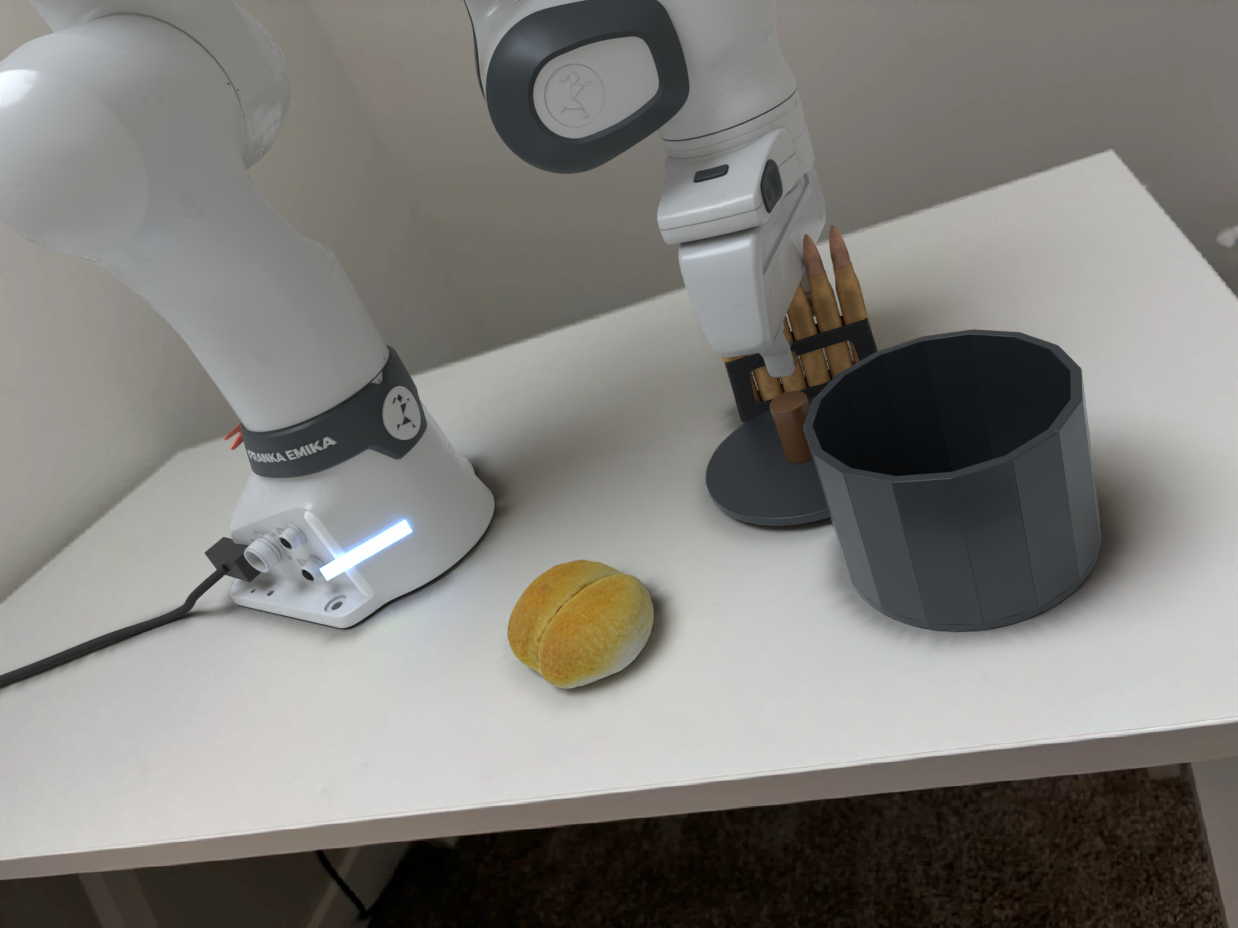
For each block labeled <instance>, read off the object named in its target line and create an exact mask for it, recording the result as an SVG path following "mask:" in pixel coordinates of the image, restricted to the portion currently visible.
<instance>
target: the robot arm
mask: <svg viewBox="0 0 1238 928" xmlns="http://www.w3.org/2000/svg"><path fill="white" fill-rule="evenodd" d="M27 1H28V2H29V3H30V5H31V6H32V7H33V8H34V10H35V11H36V12H37V13H38V15H40V17H41V19H43V21H44V22H45V23H46V25H47V26H48V27H49V29H50V30H51V32H52V33H49V34H45V35H42V36H39V37H36V38H33V39H30V40H29V41H27V42H25V43H23V44H21V45H20V46H19V47H18V48H16V49H14V50H13V51H11V53H10V54H8V56H6V57H4V58H3V60H1V61H0V221H1V222H2V223H3V224H4V225H6V226H7V227H8V228H9V229H10V230H12V231H13V232H15V233H16V234H18V236H20V237H21V238H24V239H25V240H27V241H29V242H31V243H32V244H34V245H36V246H37V247H38V246H39V247H40V248H43V249H46V250H48V251H50V252H53V253H58V254H61V255H66V256H69V257H74V258H77V259H79V260H83V261H86V262H87V263H91V264H92V265H94V266H96V267H98V268H100V269H101V270H103V271H105V272H107V273H108V274H109V275H111V276H112V277H114V278H115V279H117V280H118V281H119V282H121V283H122V284H123V285H125V286H126V287H127V288H128V289H129V290H131V291H132V292H133V293H134V294H136V295H137V296H138V297H140V298H141V299H142V300H143V301H144V302H145V303H147V304H148V305H149V306H150V307H151V308H152V309H153V310H155V311H156V312H157V313H158V314H159V315H160V316H161V317H162V318H163V319H164V320H165V321H166V322H167V323H168V325H170V326H171V327H172V328H173V329H174V331H175V332H176V333H177V334H178V335H179V337H180V338H182V340H183V341H184V342H185V344H186V345H187V346H188V347H189V349H190V350H191V352H192V353H193V355H194V356H195V357H196V359H197V360H198V361H199V363H200V364H201V367H203V369H204V370H205V372H206V373H207V375H209V377H210V379H211V380H212V382H214V384H215V386H216V387H217V388H218V390H219V391H220V393H221V394H222V396H223V398H224V399H225V401H226V402H227V403H228V404H229V406H230V407H231V409H232V410H233V412H234V413H235V415H236V416H237V417H238V419H239V420H240V423H238V424H237V425H236V426H235V427H233V429H232V430H231V431H230V432H229V433H227V434H226V435H225V436H224V438H223V440H224V441H228V440H230V439H231V438H232V437H233V436H235V435H236V434H237V433H238V435H237V436H236V438H234V441H233V442H232V444H231V445H230V447H229V450H231V451H234V450H236V449H237V448H238V447H239V446H240V445H241V444H243V445H244V448H245V452H246V455H247V458H248V462H249V465H250V468H251V473H250V475H249V477H248V479H247V482H246V484H245V485H244V488H243V491H242V492H241V494H240V497H239V499H238V502H237V503H236V505H235V507H234V509H233V511H232V514H231V517H230V519H229V520H230V521H229V534H230V537H226V536H223V537H221V538H220V539H219V540H218V541H216V542H215V543H214V544H213V545H211V546H210V547H209V548H208V549H207V550H206V551H205V552H204V555H205V556H206V558H207V559H208V560H209V561H210V563H211V564H212V565H213V567H214V568H215V569H216V570H214V571H213V572H212V573H211V574H210V575H208V577H206V578H205V579H204V580H203V581H201V582H200V584H198V585H197V587H195V588H194V589H193V590H192V591H191V593H190V594H189V595H188V596H187V597H186V599H185V600H184V602H183V604H182V605H180V606H178V607H177V608H175V609H173V610H171V611H168V612H167V613H164V614H161V615H159V616H157V617H154V618H151V619H148V620H144V621H141V622H138V623H136V624H131V625H129V626H125V627H122V628H120V629H116V630H114V631H110V632H108V633H105V634H102V635H99V636H97V637H94V638H91V639H90V640H87V641H85V642H81V643H80V644H77V645H74V646H72V647H70V648H67V649H64V650H63V651H60V652H58V653H55V654H52V655H50V656H47V657H45V658H42V659H39V660H37V661H34V662H32V663H29V664H26V665H24V666H22V667H19V668H16V669H13V670H11V671H8V672H5V673H3V674H0V685H3V684H6V683H9V682H12V681H14V680H18V679H19V678H22V677H26V676H29V675H30V674H33V673H36V672H38V671H41V670H44V669H47V668H49V667H52V666H53V665H56V664H59V663H61V662H63V661H66V660H69V659H71V658H73V657H76V656H78V655H81V654H83V653H85V652H89V651H91V650H93V649H96V648H98V647H101V646H104V645H106V644H109V643H112V642H115V641H117V640H120V639H124V638H126V637H129V636H133V635H136V634H139V633H142V632H145V631H148V630H151V629H155V628H157V627H160V626H163V625H165V624H167V623H171V622H173V621H175V620H177V619H179V618H181V617H183V616H185V615H187V614H188V613H189V612H190V611H192V609H193V608H194V607H195V605H196V603H197V601H198V600H199V599H200V598H201V597H202V596H203V595H204V594H205V593H206V592H207V591H209V590H210V589H211V588H212V587H213V586H214V585H215V584H217V583H218V582H219V581H220V580H221V579H222V578H224V577H225V576H226V577H230V578H234V580H233V581H232V585H231V587H230V592H229V595H230V597H231V599H232V600H233V602H234V604H236V605H238V606H241V607H246V608H250V609H254V610H259V611H262V612H268V613H272V614H277V615H279V616H285V617H290V618H293V619H298V620H303V621H306V622H312V623H316V624H320V625H325V626H329V627H333V628H337V629H346V628H350V627H352V626H354V625H356V624H358V623H359V622H361V621H363V620H364V619H366V618H367V617H368V616H370V615H371V614H373V613H375V612H376V611H377V610H378V609H379V608H381V607H383V605H385V604H387V603H389V602H391V601H393V600H395V599H397V598H399V597H401V596H403V595H406V594H408V593H410V592H412V591H414V590H416V589H419V588H420V587H422V586H424V585H426V584H427V583H429V582H431V581H433V580H434V579H436V578H438V577H439V576H441V575H442V574H444V573H445V572H446V571H448V570H449V569H450V568H452V567H453V566H454V565H455V564H457V563H458V562H459V561H460V560H461V559H463V558H464V556H466V554H468V553H469V552H470V551H471V549H472V548H473V547H474V546H475V545H476V544H477V543H478V542H479V541H480V540H481V538H482V536H483V535H484V533H485V532H486V530H487V529H488V527H489V525H490V524H491V521H492V519H493V516H494V513H495V505H496V504H495V498H494V495H493V493H492V491H491V489H489V488H488V487H487V485H486V484H484V482H483V481H482V480H481V479H480V478H479V477H478V476H477V475H476V473H475V469H474V467H473V465H472V463H471V462H470V460H469V459H468V458H467V457H466V456H464V455H461V454H460V453H459V452H458V451H457V449H456V448H455V446H454V445H453V443H452V442H451V440H450V439H449V438H448V437H447V435H446V433H445V432H444V431H443V429H442V428H441V426H440V425H439V423H438V422H437V421H436V419H435V418H434V416H433V415H432V413H431V412H430V411H429V410H428V408H427V406H426V405H425V404H424V403H423V401H422V400H421V398H420V396H419V391H418V387H417V385H416V383H415V382H414V380H413V378H412V376H411V375H410V372H409V371H408V367H407V365H406V364H405V361H404V360H403V359H402V358H400V355H399V354H398V352H397V351H396V349H395V348H394V347H393V346H391V345H389V344H386V343H385V341H384V338H383V337H382V335H381V334H380V332H379V330H378V328H377V326H376V325H375V322H374V321H373V319H372V316H371V315H370V314H369V311H368V310H367V308H366V306H365V304H364V303H363V301H362V299H361V297H360V295H359V294H358V292H357V290H356V288H355V287H354V284H353V283H352V281H351V279H350V277H349V276H348V274H347V272H346V270H345V268H344V266H343V264H342V263H341V261H340V259H339V257H338V256H337V254H336V253H335V252H334V251H333V250H332V249H330V248H329V247H328V245H325V244H324V243H322V242H321V241H317V240H315V239H311V238H309V237H307V236H306V235H304V234H303V233H302V232H300V231H299V230H298V229H297V228H295V226H293V225H292V224H291V222H289V221H288V220H287V218H286V217H284V216H283V214H282V213H281V212H280V211H279V210H278V209H277V208H276V207H275V206H274V205H273V203H271V202H270V200H269V199H268V198H267V197H266V196H265V195H264V193H263V192H262V191H261V190H260V188H259V187H258V186H257V185H256V183H255V182H254V181H253V179H252V178H251V176H250V174H249V171H248V170H249V169H250V168H252V167H254V166H255V165H256V164H257V163H259V162H260V161H261V160H262V159H263V158H264V157H265V156H266V155H267V154H268V153H269V152H270V150H271V148H272V147H273V145H274V143H275V142H276V140H277V138H278V136H279V134H280V132H281V130H282V127H283V125H284V122H285V120H286V117H287V114H288V112H289V110H290V109H289V108H290V104H291V99H292V80H291V74H290V69H289V67H288V64H287V60H286V58H285V56H284V54H283V52H282V50H281V48H280V46H279V45H278V43H277V41H276V40H275V39H274V37H273V36H272V35H271V33H270V32H269V31H268V30H267V29H266V28H265V27H264V25H262V24H261V23H260V22H259V21H258V20H257V19H256V18H254V17H253V16H252V15H250V14H249V13H248V12H246V10H244V9H243V8H242V6H240V5H239V4H238V2H237V1H236V0H27ZM463 2H464V5H465V7H466V8H465V9H466V11H467V14H468V18H469V20H470V24H471V29H472V39H473V51H474V52H473V53H474V65H475V71H476V72H475V73H476V79H477V82H478V86H479V89H480V92H481V95H482V98H483V100H484V102H485V104H486V107H487V111H488V113H489V117H490V120H491V122H492V125H493V127H494V129H495V131H496V133H497V134H498V136H499V138H500V139H501V141H502V142H503V143H504V145H505V146H506V147H507V148H508V149H509V150H510V151H511V152H512V153H513V154H514V155H515V156H516V157H518V158H519V159H520V160H521V161H523V162H525V163H526V164H528V165H530V166H532V167H534V168H536V169H538V170H541V171H545V172H547V173H553V174H561V175H573V174H574V175H575V174H580V173H585V172H589V171H592V170H594V169H597V168H599V167H602V166H603V165H605V164H607V163H608V162H610V161H612V160H613V159H615V158H616V157H619V156H620V155H622V154H623V153H625V152H627V151H628V150H630V149H632V148H633V147H635V146H636V145H637V144H639V143H641V142H643V141H644V140H645V139H647V138H648V137H650V136H651V135H652V134H654V133H655V132H657V131H658V133H659V137H660V140H661V143H662V146H663V150H664V152H665V155H666V158H665V161H664V181H663V187H662V191H661V196H660V200H659V204H658V208H657V212H656V221H657V226H658V229H659V232H660V235H661V237H662V239H663V242H665V244H666V245H675V244H679V245H678V252H677V254H678V255H677V256H678V264H679V270H680V273H681V276H682V280H683V284H684V286H685V289H686V292H687V294H688V297H689V299H690V302H691V305H692V308H693V310H694V313H695V316H696V318H697V320H698V323H699V325H700V328H701V330H702V332H703V334H704V337H705V339H706V341H707V343H708V345H709V346H710V348H711V349H712V350H713V351H714V352H715V353H717V354H718V355H720V356H721V357H722V356H723V357H735V356H744V355H750V354H756V353H759V354H760V355H761V356H762V357H763V358H764V361H765V364H766V367H767V370H768V373H769V375H770V376H772V377H775V378H776V377H779V378H780V377H784V376H790V375H792V374H793V373H794V370H795V367H796V364H797V361H798V357H799V356H798V357H797V355H796V352H795V347H794V344H793V342H788V341H787V339H786V337H785V335H784V334H783V330H784V323H783V321H784V318H785V316H786V317H787V311H788V309H789V307H790V304H791V302H792V299H793V297H794V295H795V292H796V290H797V288H798V285H799V283H800V282H801V285H802V288H803V290H804V292H805V294H806V295H807V298H808V301H809V304H810V308H811V311H812V314H813V318H816V317H815V314H814V310H813V306H812V303H811V299H810V289H809V283H808V278H807V272H806V268H805V264H804V257H803V239H804V235H805V234H807V235H808V236H809V237H810V238H811V239H812V240H813V242H814V244H815V245H817V244H818V241H819V239H820V237H821V234H822V232H823V229H824V226H825V224H826V222H827V208H826V207H827V206H826V202H825V197H824V193H823V190H822V187H821V183H820V180H819V175H818V173H817V170H816V167H815V162H816V153H815V150H814V146H813V142H812V138H811V134H810V131H809V126H808V122H807V118H806V115H805V110H804V105H803V103H802V97H801V95H800V91H799V87H798V83H797V80H796V78H795V75H794V73H793V72H792V69H791V68H790V66H789V65H788V63H787V62H786V60H785V57H784V54H783V52H782V47H781V45H780V44H781V43H780V37H779V36H780V35H779V18H780V17H779V9H778V5H777V2H776V0H463Z"/></svg>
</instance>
